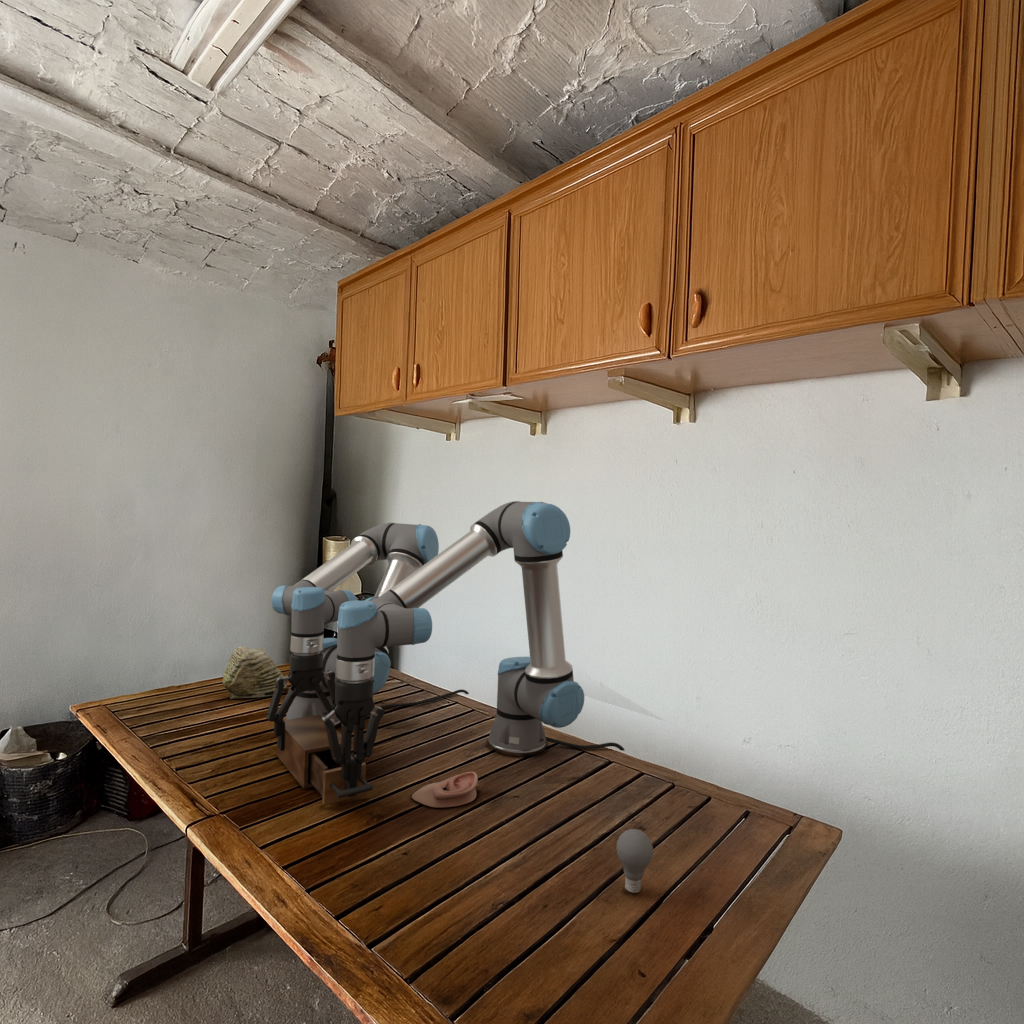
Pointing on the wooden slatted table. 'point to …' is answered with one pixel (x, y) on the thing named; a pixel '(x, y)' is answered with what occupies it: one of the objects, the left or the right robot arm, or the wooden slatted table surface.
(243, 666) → the fossil
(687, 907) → the wooden slatted table surface
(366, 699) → the right robot arm
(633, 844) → the light bulb
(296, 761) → the cabinet
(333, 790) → the drawer
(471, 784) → the anatomical model
